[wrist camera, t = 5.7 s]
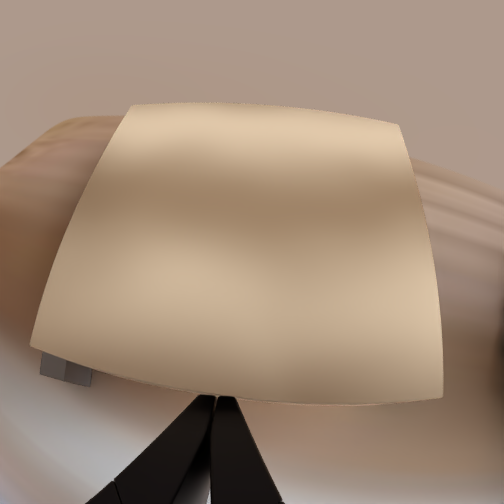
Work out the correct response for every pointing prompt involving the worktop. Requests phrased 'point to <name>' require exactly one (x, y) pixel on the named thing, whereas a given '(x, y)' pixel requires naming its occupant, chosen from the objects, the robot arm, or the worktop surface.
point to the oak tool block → (251, 259)
